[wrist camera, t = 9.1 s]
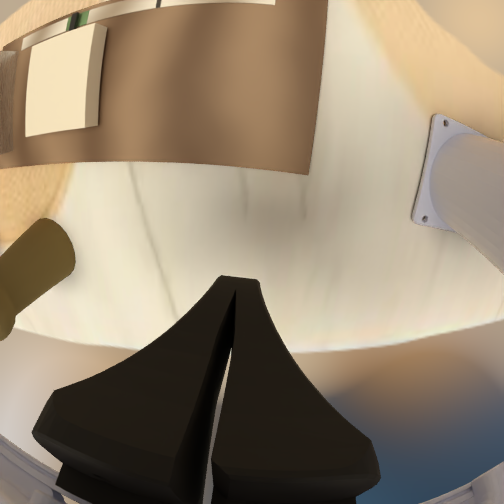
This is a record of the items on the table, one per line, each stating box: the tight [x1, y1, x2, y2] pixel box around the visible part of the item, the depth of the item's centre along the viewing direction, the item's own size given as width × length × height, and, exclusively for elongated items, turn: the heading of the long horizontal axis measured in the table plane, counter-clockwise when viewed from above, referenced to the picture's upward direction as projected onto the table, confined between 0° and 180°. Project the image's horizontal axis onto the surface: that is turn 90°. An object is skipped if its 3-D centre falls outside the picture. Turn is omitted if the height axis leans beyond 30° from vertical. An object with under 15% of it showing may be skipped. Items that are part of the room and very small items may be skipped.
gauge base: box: [0, 0, 328, 175], centre depth 13 cm, size 26×12×1 cm, turn 84°
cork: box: [0, 218, 75, 341], centre depth 16 cm, size 6×6×11 cm
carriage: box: [25, 12, 107, 137], centre depth 12 cm, size 6×9×2 cm, turn 174°
